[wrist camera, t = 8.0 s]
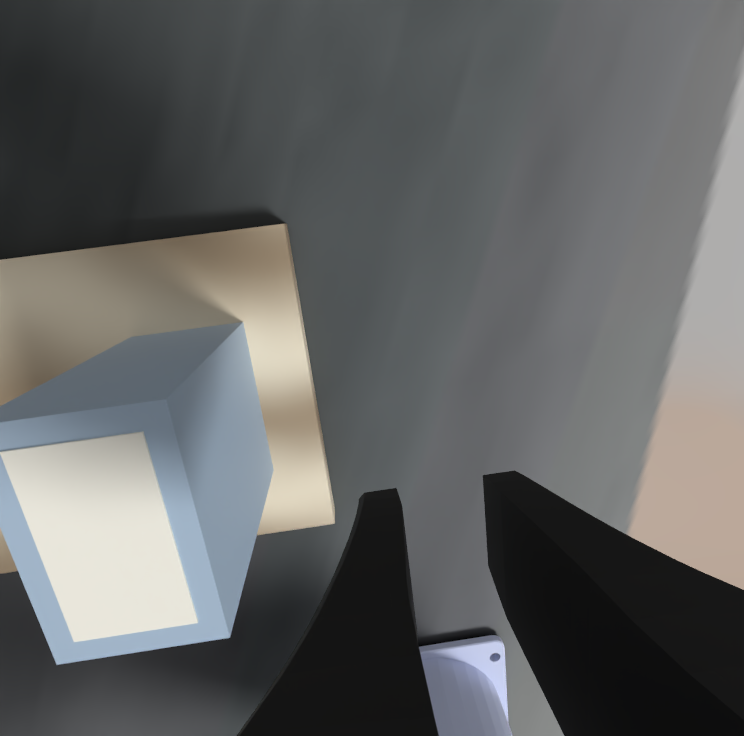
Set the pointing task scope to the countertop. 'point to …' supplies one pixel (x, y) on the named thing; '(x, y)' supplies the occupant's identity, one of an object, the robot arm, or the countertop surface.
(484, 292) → the countertop surface
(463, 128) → the countertop surface
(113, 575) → the slab
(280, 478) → the board
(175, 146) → the countertop surface
